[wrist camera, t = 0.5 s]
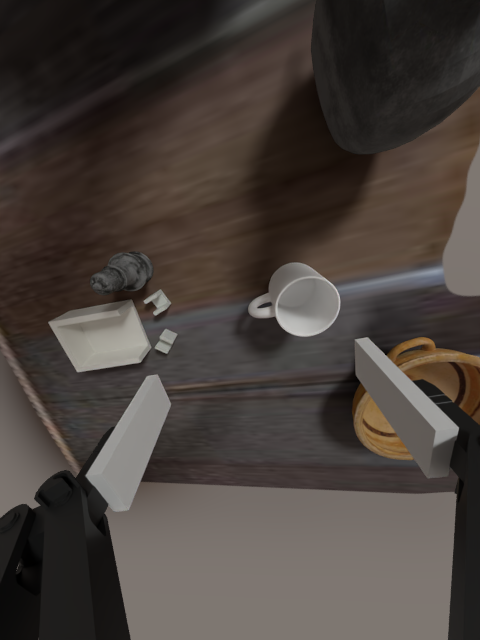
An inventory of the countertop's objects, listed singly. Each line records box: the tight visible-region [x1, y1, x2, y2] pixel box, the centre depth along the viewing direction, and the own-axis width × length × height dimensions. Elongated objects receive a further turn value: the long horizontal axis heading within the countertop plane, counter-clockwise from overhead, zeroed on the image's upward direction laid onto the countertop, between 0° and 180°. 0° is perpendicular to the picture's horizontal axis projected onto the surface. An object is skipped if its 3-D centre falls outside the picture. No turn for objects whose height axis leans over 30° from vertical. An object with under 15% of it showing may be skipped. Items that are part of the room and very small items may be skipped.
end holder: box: [48, 299, 151, 372], centre depth 40 cm, size 10×12×5 cm
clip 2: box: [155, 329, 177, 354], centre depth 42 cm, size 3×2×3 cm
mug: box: [248, 263, 340, 337], centre depth 34 cm, size 12×8×10 cm
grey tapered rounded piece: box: [90, 252, 153, 295], centre depth 32 cm, size 6×6×12 cm
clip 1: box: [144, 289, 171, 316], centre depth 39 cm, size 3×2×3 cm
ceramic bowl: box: [352, 337, 480, 460], centre depth 43 cm, size 30×24×8 cm
